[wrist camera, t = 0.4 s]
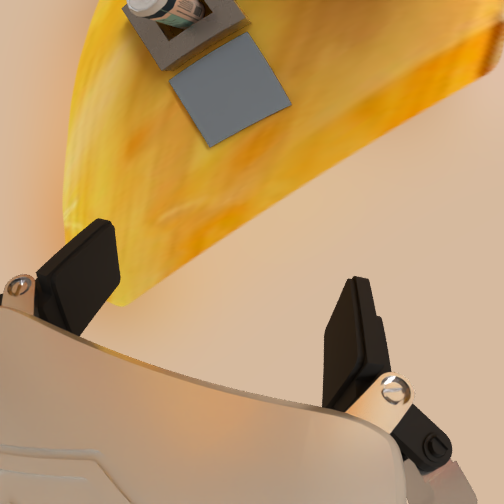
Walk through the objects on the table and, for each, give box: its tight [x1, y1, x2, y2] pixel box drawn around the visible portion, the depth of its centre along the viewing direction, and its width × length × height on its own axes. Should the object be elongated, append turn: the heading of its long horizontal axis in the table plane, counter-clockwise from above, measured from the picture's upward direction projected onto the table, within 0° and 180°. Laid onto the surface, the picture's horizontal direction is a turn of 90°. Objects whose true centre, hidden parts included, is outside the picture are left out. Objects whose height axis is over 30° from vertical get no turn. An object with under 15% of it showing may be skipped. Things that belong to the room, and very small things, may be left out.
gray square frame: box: [122, 0, 251, 71], centre depth 27 cm, size 12×12×4 cm
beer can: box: [127, 0, 205, 29], centre depth 23 cm, size 5×5×12 cm
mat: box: [169, 32, 292, 147], centre depth 33 cm, size 12×11×1 cm
